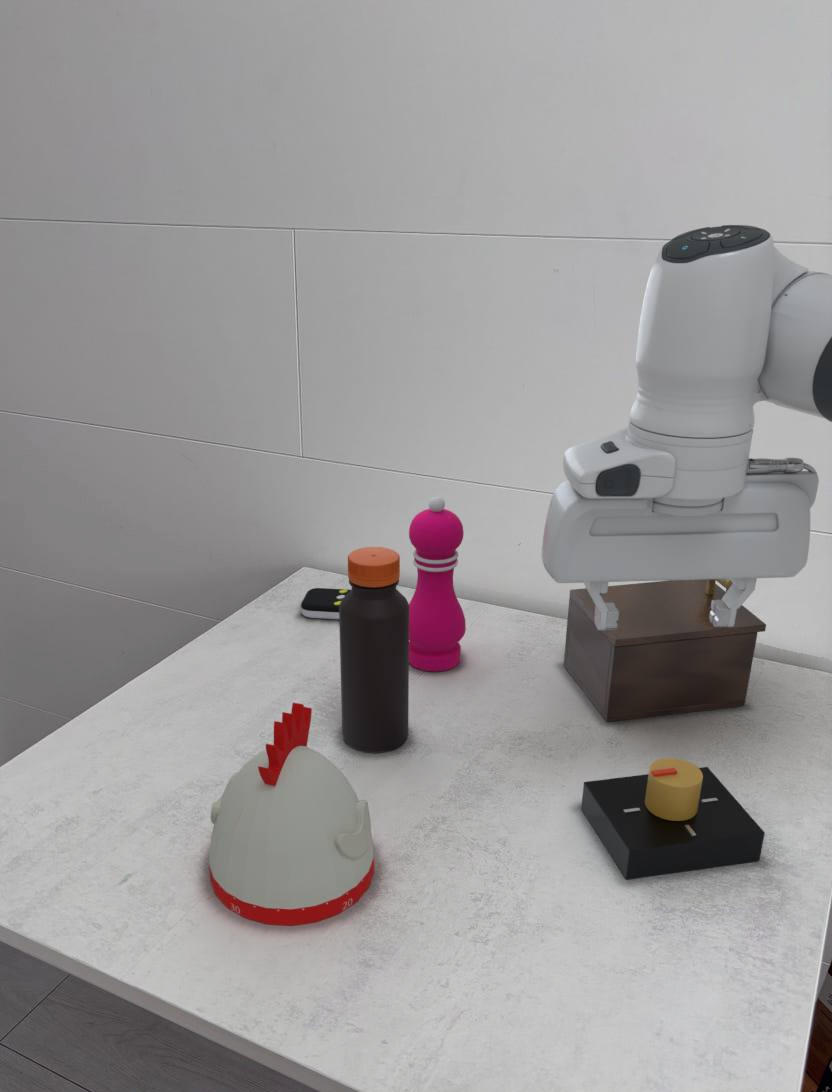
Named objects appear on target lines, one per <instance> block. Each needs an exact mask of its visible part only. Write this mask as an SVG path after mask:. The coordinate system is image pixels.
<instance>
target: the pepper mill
mask: <svg viewBox="0 0 832 1092" xmlns="http://www.w3.org/2000/svg"><path fill="white" fill-rule="evenodd" d="M445 507H446V502H445V500H444V498H442V497H441V496H437V495H436V496H433V497H431V498H430V499H429V501H428V508H427V509H423V510H422V511H420V512H418V513H417V514H415V516H414V517H413V518H412V520H411V522H410V525H409V527H408V529H409V530H408V537H409V541H410V543H411V545H412V546H413V548H414V549H415V550H414V551H413V552H412V555H413V560H412V563H413V565H414V567H416V571H417V578H416V579H417V580H416V582H417V583H416V585H415V590H414V593H413V595H412V597H411V599H410V601H409V602H408V604H409V665H411V667H413V668H415V669H418V670H421V671H425V672H443V671H448V670H451V669H454V668H455V667H457V666H458V665H459V664H460V662H461V658H462V657H461V654H462V653H461V652H462V646H461V644H460V641H461V640H462V639H463V637H464V636H465V634H466V630H467V625H466V617H465V613H464V610H463V608H462V606H461V604H460V601H459V600H458V598H457V595H456V592H455V587H454V570H455V568H457V566H458V565H459V560H458V557H459V551H457V549H458V548H459V547H460V546H461V544H462V542H463V540H464V533H465V532H464V526H463V522H462V521H461V519H460V517H459V516H458V515H457V514H456V513H454V512H453V511H451V510H449V509H446V508H445Z"/></svg>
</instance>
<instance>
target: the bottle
mask: <svg viewBox="0 0 832 1092" xmlns="http://www.w3.org/2000/svg"><path fill="white" fill-rule="evenodd" d="M400 564H401V556H400V553H398V552H397V551H396V550H394V549H392V548H388V547H383V546H365V547H360V548H357V549H355V550H353V551H351V552H350V553H349V554H348V555H347V578H348V584H349V586H351V589H350V590H351V591H350V592H349V593H348V594H347V595H346V596H345V597H344V598H343V599H342V600H341V603H340V605H339V619H338V621H339V622H338V623H339V656H340V658H339V660H340V663H339V665H340V695H341V696H340V698H341V699H340V700H341V734H342V737H343V740H344V741H345V742H346V743H347V745H348V746H350V747H352V748H354V749H356V750H358V751H361V752H365V753H384V752H389V751H392V750H395V749H396V748H399V747H400V746H401V745H403V744H404V743H405V742H406V740H407V739H408V735H409V700H410V698H409V693H410V692H409V691H410V688H409V687H410V685H409V683H410V680H409V679H410V663H409V642H410V641H409V601H408V599H407V598H406V597H405V596H404V595H403V593H402V592H400V591H399V590H398V589H397V586H398V585H399V583H400V576H401V565H400Z"/></svg>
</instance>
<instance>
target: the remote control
mask: <svg viewBox="0 0 832 1092" xmlns="http://www.w3.org/2000/svg"><path fill="white" fill-rule="evenodd" d="M351 590H352V589H347V588H346V589H345V588H327V587H325V588H324V587H315V588H311V589H309V590H307V592H306V593H305V594H304V596H303V599H302V601H301V604H300V612H301V614H302V615H303V616H304V617H306V618H310V619H326V620H339V605H340V603H341V600H342V599H343V598H344V597H345V596H346V595H347V594H348V593H349V592H350V591H351Z"/></svg>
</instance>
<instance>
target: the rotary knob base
mask: <svg viewBox="0 0 832 1092" xmlns="http://www.w3.org/2000/svg"><path fill="white" fill-rule="evenodd" d="M698 768H699V769H700V770H701V772H702V774H703V780H702V786H701V792H700V798H699V804H698V810H697V813H696V815H695V816H694V817H692V818H691V819H688V820H684V821H670V820H665V819H662V818H660V817H657V816H655V815H654V814H652V813H651V812H650V811H649V810H648V809H647V807H646V805H645V797H646V789H647V782H648V775H649V773H647V774H638V775H629V776H622V777H614V778H607V779H605V778H604V779H598V780H590V781H584V782H583V785H582V786H583V787H582V797H581V805H580V806H581V807H580V809H581V811H582V812H583V814H584V816H585V817H586V819H587V820H588V822H589V824H590V825H591V826H592V828H593V830H594V831H595V833H596V835H597V836H598V838H599V839H600V841H601V842H602V844H603V846H604V848H605V849H606V850H607V852H608V853H609V856H610V857H611V858H612V860H613V862H614V863H615V864H616V866H617V868H618V869H619V871H620V873H621V874H622V875H623V877H624V879H625V880H632V879H639V878H646V877H655V876H660V875H668V874H676V873H683V872H690V871H697V870H704V869H705V870H706V869H712V868H718V867H719V868H720V867H725V866H732V865H739V864H747V863H754V862H759V861H760V859H761V853H762V849H763V844H764V839H765V834H766V833H765V831H764V829H762V828H761V827H760V825H759V824H758V823H757V822H756V821H755V820H754V819H753V817H752V816H751V815H750V813H748V811H746V809H745V808H744V807H743V806H742V805H741V803H739V801H738V800H737V799H736V797H734V796H733V794H732V793H731V792H730V791H729V790H728V789H727V787H726V786H725V785H724V784H723V783H722V782H721V781H720V780H719V778H718V777H717V776H716V774H715V773H713V771H712V770H711V769H710V768H709V767H708V766H702V767H698Z"/></svg>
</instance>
